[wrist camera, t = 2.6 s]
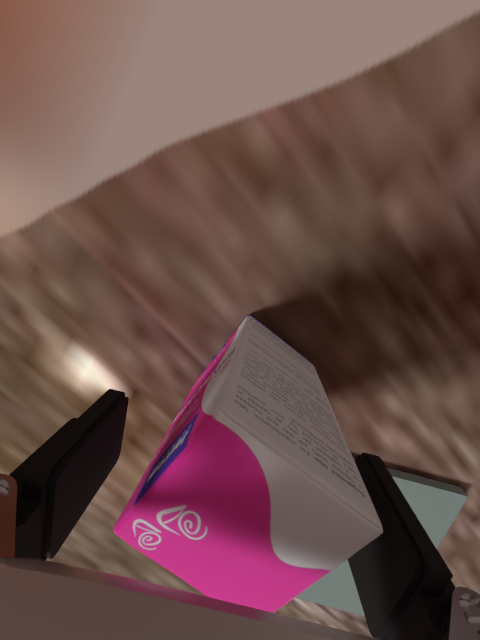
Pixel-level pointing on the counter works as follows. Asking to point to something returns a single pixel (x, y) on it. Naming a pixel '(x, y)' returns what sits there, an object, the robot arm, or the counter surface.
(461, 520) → the counter surface
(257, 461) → the supplement box
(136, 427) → the counter surface
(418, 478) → the rubber mat
